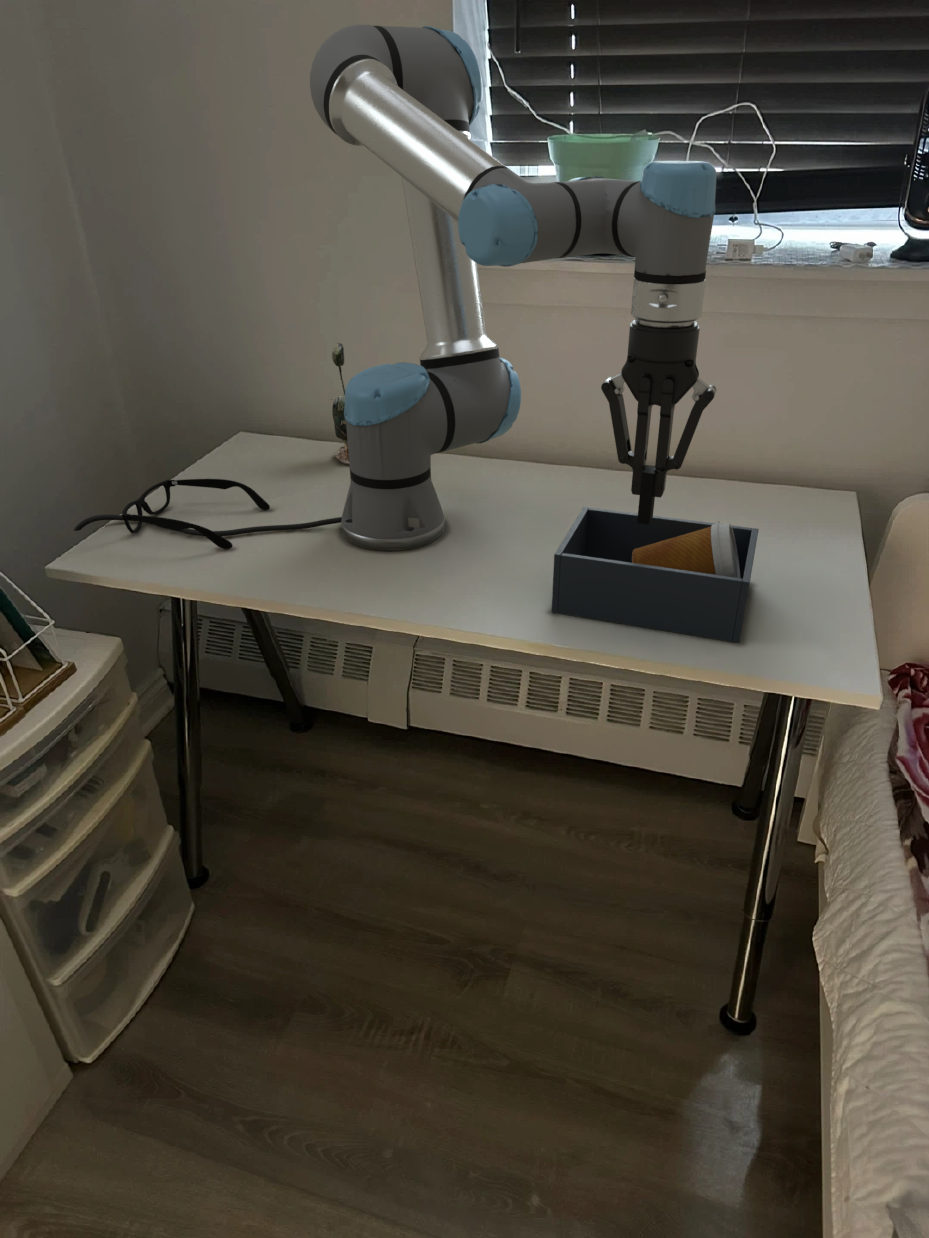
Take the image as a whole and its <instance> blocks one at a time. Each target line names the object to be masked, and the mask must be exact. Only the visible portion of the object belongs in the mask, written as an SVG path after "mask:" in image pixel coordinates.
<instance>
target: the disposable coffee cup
mask: <svg viewBox="0 0 929 1238" xmlns="http://www.w3.org/2000/svg"><path fill="white" fill-rule="evenodd" d="M715 523H716V524H713V525H712V526H711V527H708V528H704V529H701V530H698V531H695V532H691V533H688V534H684V535H681V536H677V537H674V538H671V539H667V540H664V541H660V542H657V543H654V544H650V545H647V546H643V547H640V548H636V549H634V550H633V554H632V563H636V564H643V565H650V566H658V567H665V568H672V569H679V570H686V571H693V572H700V573H707V574H714V575H721V576H728V577H735V578H741V576H740V567H739V560H738V553H737V547H736V542H735V537H734V533H733V529H732V526H733V525H732V524H731V523H728V522H727V523H726V522H725V523H723V522H720V521H716V522H715ZM731 525H732V526H731Z"/></svg>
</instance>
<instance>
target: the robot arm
mask: <svg viewBox="0 0 929 1238" xmlns="http://www.w3.org/2000/svg"><path fill="white" fill-rule="evenodd" d="M483 87H484V86H483V77H482V72H481V67H480V65H479V61H478V59H477V56H476V54H475V52H474V50H473V49H472V47H471V46H470V44H469V43H468V42H467V41H466V40H465V39H463V38H462V36H460V35H459V34H458V33H456V32H454V31H452V30H446V29H439V28H437V27H433V26H427V25H424V26H422V27H416V26H415V27H414V26H412V27H411V26H394V25H393V26H392V25H371V24H353V25H349V26H345V27H342V28H340V29H339V30H337V31H335V32H333V33H332V34H330V35H329V36H328V37H327V38H326V39H325V40H324V42H323V43H322V44H321V45H320V47H319V48H318V50H317V51H316V53H315V56H314V58H313V61H312V64H311V68H310V73H309V89H310V96H311V101H312V103H313V106H314V109H315V110H316V112H317V115H319V117H320V119H321V120H322V121H323V123H324V124H325V125H326V126H327V128H329V130H331V131H332V132H333V134H335V135H336V136H338V137H339V138H340V139H341V140H343V142H345V143H347V144H349V145H353V146H358V147H363V146H364V148H366V149H367V150H368V151H370V152H371V153H372V154H373V155H375V156H376V157H377V158H378V159H379V160H381V162H383V163H384V164H386V165H387V166H388V167H389V168H391V169H392V170H393V171H394V172H395V173H396V174H398V175H399V176H400V177H401V182H402V189H403V195H404V200H405V208H406V215H407V220H408V226H409V233H410V239H411V246H412V251H413V253H412V254H413V258H414V259H413V260H414V264H415V272H416V279H417V285H418V290H419V297H420V303H421V304H420V305H421V310H422V316H423V322H424V328H425V329H424V330H425V336H426V343H427V344H426V347H425V348H424V350H423V352H422V353H420V356H419V363H420V364H418V363H414V362H396V363H393V364H391V363H384V364H383V363H382V364H378V365H374V366H371V367H369V368H366V369H364V370H361V371H360V372H358V373H356V374H355V375H353V376H352V377H351V378H350V379H349V381H348V383H347V384H346V386H345V388H344V389H345V409H344V416H345V419H346V428H347V440H348V453H349V475H350V477H349V479H350V484H349V488H348V491H347V495H346V499H345V503H344V507H343V510H342V515H341V516H338V517H332V518H326V519H320V520H316V521H315V520H314V521H309V522H301V523H293V524H292V523H291V524H290V523H289V524H273V525H258V526H250V527H242V528H235V529H225V530H212V531H213V532H215V533H216V534H218V535H220V536H222V537H230V536H239V535H245V534H254V533H263V532H278V531H279V532H280V531H296V530H305V529H312V528H317V527H321V526H322V527H323V526H328V525H334V524H340V525H341V532H342V533H341V534H342V536H343V537H344V539H346V540H347V541H348V542H349V543H351V544H353V545H355V546H358V547H361V548H365V549H369V550H375V551H376V550H377V551H403V550H409V549H414V548H419V547H421V546H426V545H428V544H430V543H432V542H434V541H436V540H437V539H438V538H440V537H441V536H442V535H443V533H444V532H445V526H446V525H445V514H444V510H443V508H442V505H441V502H440V499H439V497H438V495H437V491H436V488H435V486H434V483H433V481H432V467H431V465H432V464H431V463H432V461H431V460H432V459H431V456H433V455H435V454H439V453H444V452H448V451H451V450H455V449H459V448H462V447H467V446H471V445H474V444H484V443H487V442H489V441H490V440H492V439H495V438H498V437H502V436H503V435H505V434H506V433H507V432H508V431H510V429H511V428H512V427H513V424H514V423H515V422H516V420H517V418H518V416H519V413H520V409H521V405H522V403H521V402H522V388H521V382H520V378H519V375H518V373H517V371H514V366H513V365H512V363H511V362H510V361H509V360H508V359H505V358H504V357H500V348H499V345H498V343H496V342H495V341H494V340H492V339H491V338H490V337H489V336H488V334H487V331H486V325H485V316H484V315H485V314H484V309H483V301H482V294H481V288H480V279H479V278H480V277H479V272H478V265H479V266H484V267H495V266H497V267H504V268H505V267H506V268H507V267H513V266H516V265H520V264H527V263H533V262H540V261H547V260H555V259H565V258H573V257H580V256H582V257H583V256H589V255H595V254H597V255H598V254H609V255H617V256H626V257H631V258H634V272H633V285H632V297H631V307H630V314H631V316H632V317H633V318H635V319H634V320H632V321H631V322H630V323H629V330H628V331H629V332H628V333H629V334H628V343H627V344H628V345H627V356H626V361H625V363H624V365H623V366H622V368H621V372H619V373H618V374H616V375H614V376H613V377H612V376H608V377H607V378H606V379H605V380H604V381H603V382H602V384H601V385H600V386H601V387H600V388H601V391H602V393H603V395H604V397H605V398H606V400H607V402H608V406H609V412H610V418H611V424H612V431H613V436H614V442H615V448H616V449H615V450H616V454H617V461H618V462H619V463H620V464H621V465H628V466H629V467H630V468H631V469H632V477H631V478H632V479H631V488H630V491H631V494H632V495H635V496H639V500H638V507H637V508H638V509H637V514H638V518H637V523H640V524H648V525H649V524H650V522H651V519H652V517H653V516H654V511H655V510H654V509H655V500H656V498H662V496H663V495H664V493H665V490H666V483H667V473H668V472H669V471H671V470H680V469H681V467H682V465H683V463H684V460H685V459H686V455H687V453H688V451H689V448H690V445H691V444H692V443H691V442H692V440H693V437H694V435H695V432H696V429H697V427H698V425H699V423H700V419H701V417H702V414H703V412H704V410H705V409H706V408H707V407H708V406H709V405H710V403H712V401H713V400H714V399H715V396H716V394H717V387H716V386H715V385H713V384H707V383H706V382H705V381H704V380H703V379H701V378H700V371H699V368H698V366H697V355H698V347H699V338H700V328H701V326H700V325H699V323H698V322H697V320H699V319H700V318H701V317H702V313H703V312H702V311H703V305H704V304H703V303H704V297H705V288H706V282H707V281H706V278H707V277H706V276H707V275H706V274H707V269H706V268H707V262H708V256H709V251H710V250H709V249H710V248H709V247H710V243H711V236H712V231H713V223H714V218H715V214H716V211H717V210H716V209H717V207H716V193H717V175H718V174H717V170H716V168H715V166H714V165H713V164H712V163H710V162H708V161H700V160H656V161H650V162H648V163H646V164H645V165H644V166H643V170H642V175H641V176H642V177H641V180H627V179H616V178H608V177H607V178H605V177H603V176H599V175H595V176H583V177H582V176H581V177H573V178H571V179H569V180H567V181H550V182H548V181H547V182H531V181H528V180H526V179H525V178H523V177H522V176H520V175H519V174H517V173H515V171H513V170H512V169H510V167H509V168H508V167H507V166H505V165H504V164H503V163H502V162H500V161H499V160H498V159H496V158H495V157H493V155H491V154H490V153H488V152H487V151H486V150H484V149H483V148H481V147H480V146H479V145H478V144H476V143H475V142H473V141H472V140H471V129H470V126H471V125H473V123H474V122H475V121H476V120H477V118H478V116H479V113H480V112H481V111H480V110H481V106H480V104H479V103H482V101H483V92H484V91H483ZM625 384H626V386H627V387H628V389H629V391H630V393H631V394H632V396H633V398H634V399H635V400H636V401H637V410H636V412H637V414H636V415H637V418H636V428H635V436H634V439H635V440H634V449H632V443H631V437H630V431H629V424H628V418H627V412H626V405H625V400H624V394H623V393H624V392H625V389H626V388H625ZM691 389H693V393H692V396H691V397H692V401H693V402H694V404H693V406H692V408H691V410H690V412H689V415H688V418H687V420H686V423H685V426H684V428H683V431H682V434H681V436H680V439H679V441H678V444H677V446H676V449H675V452H674V455H670V453H671V451H670V450H671V443H672V442H671V441H672V433H673V424H674V423H673V422H674V414H675V408H676V405H677V404H678V403H679V402H680V401H681V400H682V399H683V398H684V396H685V395H686V394H688V392H689V391H690V390H691ZM653 406H658V407H660V409H659V424H658V432H657V433H658V434H657V442H656V443H657V444H656V445H657V446H656V454H655V463H654V465H651V464H647V461H648V448H649V440H650V429H651V419H652V411H653ZM100 521H123V522H124V520H123V518H122V514H97V515H93V516H90V517H87V518H85V519H83V520H81V521H80V522H79V523H78V524H77V525H76V526H75V527H74V529H73V532H78V531H81V530H82V529H83V528H84V527H86V526H87V525H89V524H91V523H94V522H100ZM128 521H129V522H137V521H136V520H128ZM154 526H156V525H154ZM156 527H158V528H161V529H165V530H170V531H173V532H178V533H182V534H185V535H191V536H195V537H196V536H197V537H205V536H204V535H203V534H201V533H200V532H198V531H197V530H195V529H192V528H186V529H183V530H180V531H176V530H172V529H168V528H164V527H160V526H156ZM85 632H86V633H91V631H85ZM91 634H92V633H91Z"/></svg>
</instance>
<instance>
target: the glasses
mask: <svg viewBox="0 0 929 1238" xmlns="http://www.w3.org/2000/svg"><path fill="white" fill-rule="evenodd" d="M176 486H183V487H184V486H185V487H198V488H210V489H219V490H228V489H230V488H236V487H237V488H240V489H242V490H243V491H244V492H245V493H246V494H247V495H248V496H249V497H250V498H251V500H252V501H253V502H254V503H255V505H256V506H257V507H258V508H259V509H261V511H268V510H270V508H271V505H270V504H269V503H268V502H267V501H266V500H265V499H264V498H263V497H262V496H261V495H259V494H258V493H257V491H255V490H254V489H253V488H251V487H250V486H248V485H247V484H244V483H242V482H240V481H236V480H231V479H222V478H190V479H189V478H187V479H166V480H163V481H159V482H158V483H156V484H153V485H152V486H151V487H148V489H146V490H145V491H143V493H142V494H141V495H140V496H139V498H137V499H135V500H133V501H131V502H129V503H127V504H126V506H125V507H124V509H123V510H122V513H121V515H122V518H123V520H124V521H123V522H124V525H125V527H126V529H127V530H128V532H129V533H131V534H136V533H138V532H139V531H140V529H141V528H142V526H143V523H144V524H147V525H151V526H155V525H156V527H158V526H160V527H159V528H161V527H164V528H168V529H172V530H171V531H173V530H176V531H175V532H177V531H180V530H183V529H186V528H189V529H194V530H197V531H198V532H200V533H201V534H203V535H204V536H203V537H205V538H207V539H208V540H209V541H210V542H211V543H213V545H216V546H217V547H218V548H220V549H222V550H231V549H232V548H233V543H232V542H231V541H229V540H228V539H227V538H225V537H224V536H220V535H218V534H216V533H215V532H213V531H214V530H212V529H209V528H207V527H205V526H202V525H198V524H196V523H191V522H188V521H184V520H178V519H174V518H168V517H162V516H155V515H159V514H161V513H163V512H164V511H165V510H166V509H167V508H168V506H169V505H170V503H171V487H173V488H174V487H176ZM159 487H163V488H164V491H165V497H166V501H165V503H164V505H163V506H162V507H161V508H159V509H158V510H155V511H153V510H152V509H151V507H150V506H149V504H148V502H146V498H147V495H149V493H151V492H152V491H153V490H155V489H157V488H159ZM134 505H135V507H136V513H137V514H132V513H128V512H129V509H130V508H131V507H132V506H134ZM143 511H144V512H145V513H146V514H148V515H144V514H143ZM128 520H136V521H135V522H137V525H136V527H135V528H134V529H133V528H132V526H131V524H130V521H128ZM164 528H163V529H164ZM168 529H167V530H168Z"/></svg>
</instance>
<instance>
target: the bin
mask: <svg viewBox="0 0 929 1238" xmlns="http://www.w3.org/2000/svg"><path fill="white" fill-rule="evenodd" d="M637 518H638V512H637V513H636V512H627V511H620V510H612V509H604V508H597V507H590V506H589V507H588V506H583V507H582V509H581V510H580V512H579V514H578V515H577V517H576V518H575V520H574V522H573V523H572V525H571V527H570V528H569V530H568V531H567V533H566V535H565V536H564V537H563V540H562V542H561V543H560V545H559V546H558V548H557V549H556V551H555V553H554V555H553V572H552V573H553V574H552V592H551V593H552V595H551V613H553V614H560V615H567V616H570V617H571V616H572V617H578V618H583V619H589V620H596V621H604V622H608V623H615V624H621V625H627V626H634V627H638V628H639V627H640V628H645V629H651V630H652V629H653V630H656V631H657V630H658V631H664V632H671V633H676V634H682V635H687V636H694V637H701V638H706V639H712V640H719V641H724V642H730V643H735V644H739V643H740V641H741V636H742V631H743V630H742V629H743V625H744V619H745V612H746V608H747V607H746V606H747V601H748V596H749V589H750V582H751V578H752V572H753V566H754V559H755V553H756V547H757V542H758V537H759V536H758V535H759V528H757V527H749V526H739V525H732V524H731V526H732V529H733V533H734V537H735V542H736V547H737V553H738V560H739V567H740V576H741V578H735V577H728V576H721V575H714V574H707V573H700V572H693V571H686V570H679V569H672V568H665V567H658V566H650V565H643V564H636V563H632V554H633V550H634V549H636V548H640V547H643V546H647V545H650V544H654V543H657V542H660V541H664V540H667V539H671V538H674V537H677V536H681V535H684V534H688V533H691V532H695V531H698V530H701V529H704V528H708V527H711V526H712V525H713V524H716V523H717V522H708V521H699V520H692V519H684V518H675V517H667V516H659V515H653V517H652V519H651V522H650V524H649V525H648V524H640V523H637Z"/></svg>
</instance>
